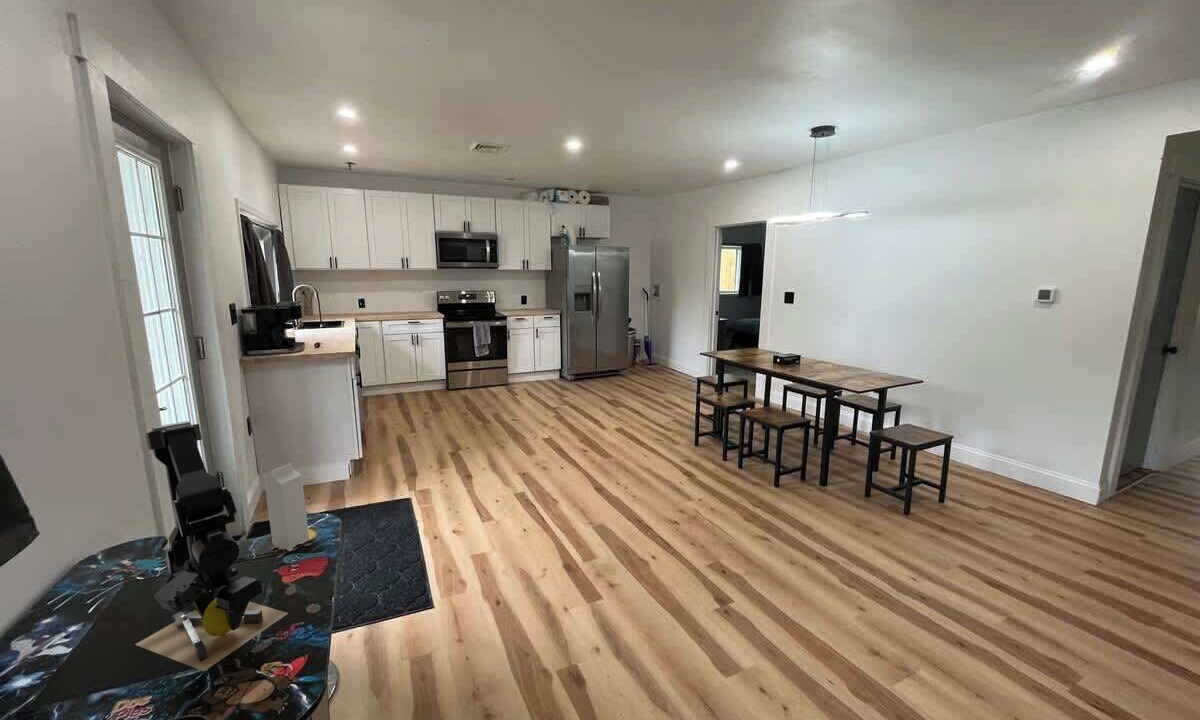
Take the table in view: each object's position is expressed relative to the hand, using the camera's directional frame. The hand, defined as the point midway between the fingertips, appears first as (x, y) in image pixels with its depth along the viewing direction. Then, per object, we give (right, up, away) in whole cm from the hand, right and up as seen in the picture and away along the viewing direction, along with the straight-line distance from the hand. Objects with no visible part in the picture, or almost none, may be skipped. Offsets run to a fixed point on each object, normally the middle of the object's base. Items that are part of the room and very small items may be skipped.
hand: (221, 624), depth 94 cm
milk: (-9, +2, +36) cm, 37 cm away
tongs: (-5, -2, +2) cm, 6 cm away
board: (-3, -3, +3) cm, 6 cm away
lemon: (0, -3, 0) cm, 3 cm away
